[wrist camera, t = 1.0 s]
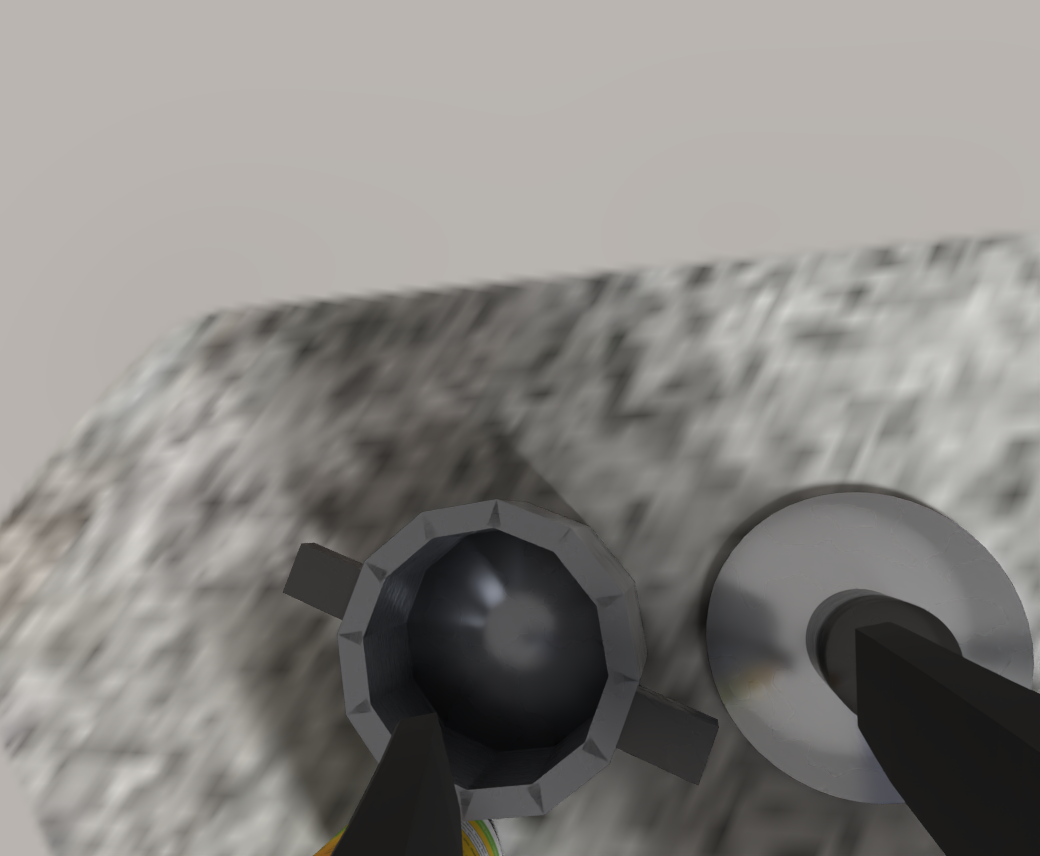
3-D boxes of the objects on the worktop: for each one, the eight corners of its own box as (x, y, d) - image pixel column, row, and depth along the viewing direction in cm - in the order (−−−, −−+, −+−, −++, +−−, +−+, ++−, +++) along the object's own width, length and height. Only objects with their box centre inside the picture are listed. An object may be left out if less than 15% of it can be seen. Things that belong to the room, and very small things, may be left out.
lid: (1063, 554, 21) (1150, 561, 17) (967, 849, 21) (1034, 925, 17) (759, 453, 24) (774, 439, 20) (667, 718, 23) (663, 758, 19)
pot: (751, 589, 23) (764, 603, 19) (658, 851, 22) (651, 920, 19) (389, 449, 26) (337, 436, 22) (303, 675, 26) (236, 702, 22)
